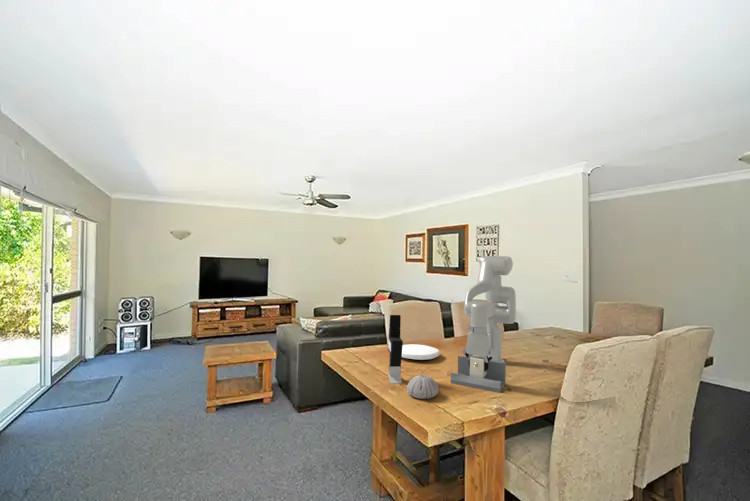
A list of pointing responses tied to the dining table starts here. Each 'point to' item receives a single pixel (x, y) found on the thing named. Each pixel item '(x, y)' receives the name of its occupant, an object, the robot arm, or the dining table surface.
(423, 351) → the plate
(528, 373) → the dining table surface
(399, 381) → the award
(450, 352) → the dining table surface
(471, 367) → the cabinet block
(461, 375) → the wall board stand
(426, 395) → the sea urchin shell
